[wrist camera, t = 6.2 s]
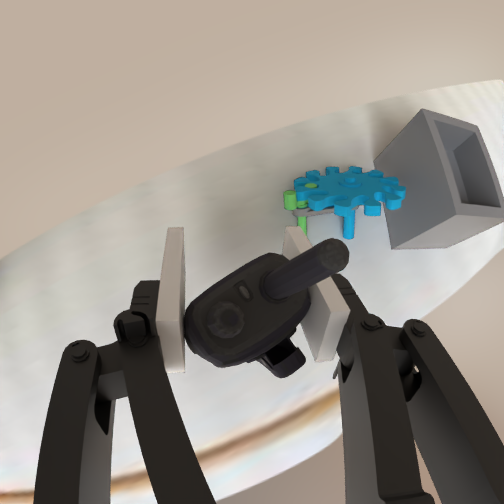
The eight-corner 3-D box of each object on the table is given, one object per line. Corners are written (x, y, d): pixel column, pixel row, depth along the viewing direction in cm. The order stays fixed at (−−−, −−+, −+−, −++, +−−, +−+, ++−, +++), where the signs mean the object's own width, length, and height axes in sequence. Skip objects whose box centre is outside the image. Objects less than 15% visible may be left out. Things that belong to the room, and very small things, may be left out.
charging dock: (391, 249, 30) (456, 214, 20) (373, 161, 32) (421, 108, 23) (448, 248, 31) (511, 219, 22) (429, 168, 34) (479, 126, 24)
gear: (374, 157, 31) (429, 192, 22) (372, 208, 34) (419, 255, 25) (271, 167, 30) (296, 208, 22) (275, 222, 33) (299, 278, 25)
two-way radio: (245, 275, 22) (353, 168, 7) (282, 330, 21) (446, 317, 7) (175, 321, 20) (141, 295, 6) (213, 377, 20) (274, 476, 5)
